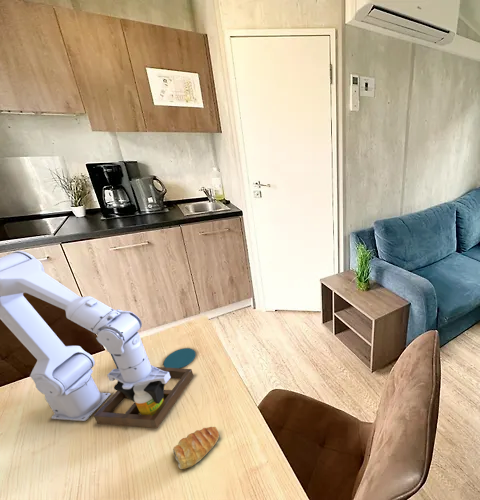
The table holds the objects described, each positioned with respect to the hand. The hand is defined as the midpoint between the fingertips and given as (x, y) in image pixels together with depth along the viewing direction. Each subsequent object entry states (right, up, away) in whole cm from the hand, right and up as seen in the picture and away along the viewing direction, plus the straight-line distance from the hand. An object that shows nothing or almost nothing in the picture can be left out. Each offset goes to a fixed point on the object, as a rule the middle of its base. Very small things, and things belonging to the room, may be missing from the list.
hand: (148, 399), depth 73 cm
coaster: (-3, +3, +18) cm, 19 cm away
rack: (-4, -2, +5) cm, 7 cm away
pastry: (+16, -8, -7) cm, 19 cm away
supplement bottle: (0, -4, +2) cm, 5 cm away
